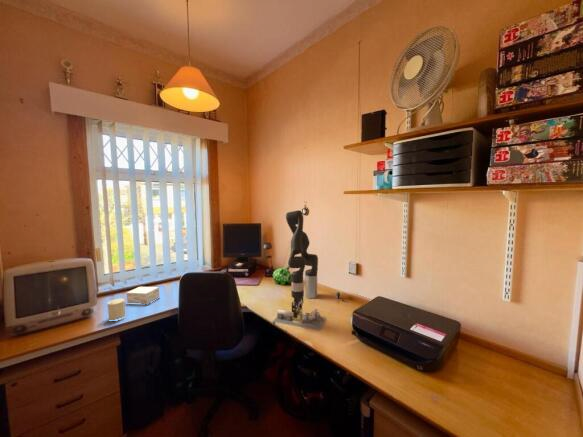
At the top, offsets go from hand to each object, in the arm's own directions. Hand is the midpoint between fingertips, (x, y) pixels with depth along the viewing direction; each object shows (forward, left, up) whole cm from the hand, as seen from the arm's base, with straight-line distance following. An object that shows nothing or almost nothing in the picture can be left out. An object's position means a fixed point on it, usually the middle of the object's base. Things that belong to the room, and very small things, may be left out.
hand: (297, 314), depth 147 cm
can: (+36, -112, -5) cm, 118 cm away
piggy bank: (-60, -37, -5) cm, 71 cm away
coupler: (0, 0, -4) cm, 4 cm away
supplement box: (+11, -121, -5) cm, 122 cm away
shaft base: (-1, +1, -5) cm, 5 cm away
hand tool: (-5, +35, -5) cm, 35 cm away
